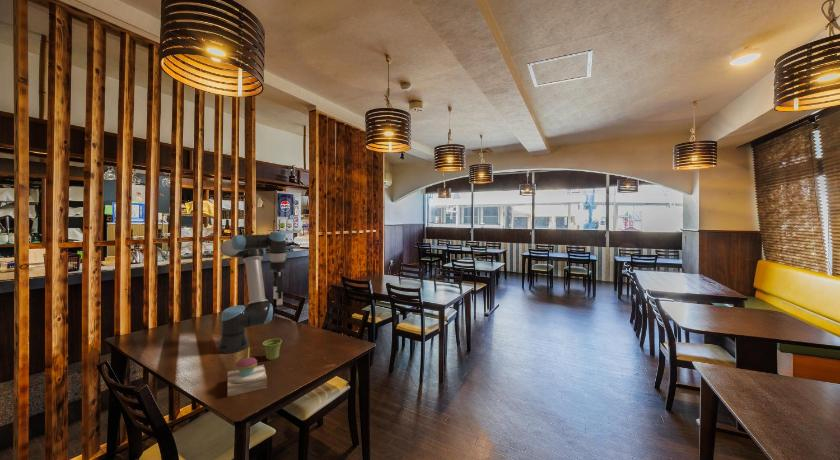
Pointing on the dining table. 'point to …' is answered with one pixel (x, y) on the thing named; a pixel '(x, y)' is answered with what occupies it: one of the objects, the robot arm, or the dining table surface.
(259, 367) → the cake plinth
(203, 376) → the dining table surface
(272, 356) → the plant pot
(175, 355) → the dining table surface
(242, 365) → the cupcake
